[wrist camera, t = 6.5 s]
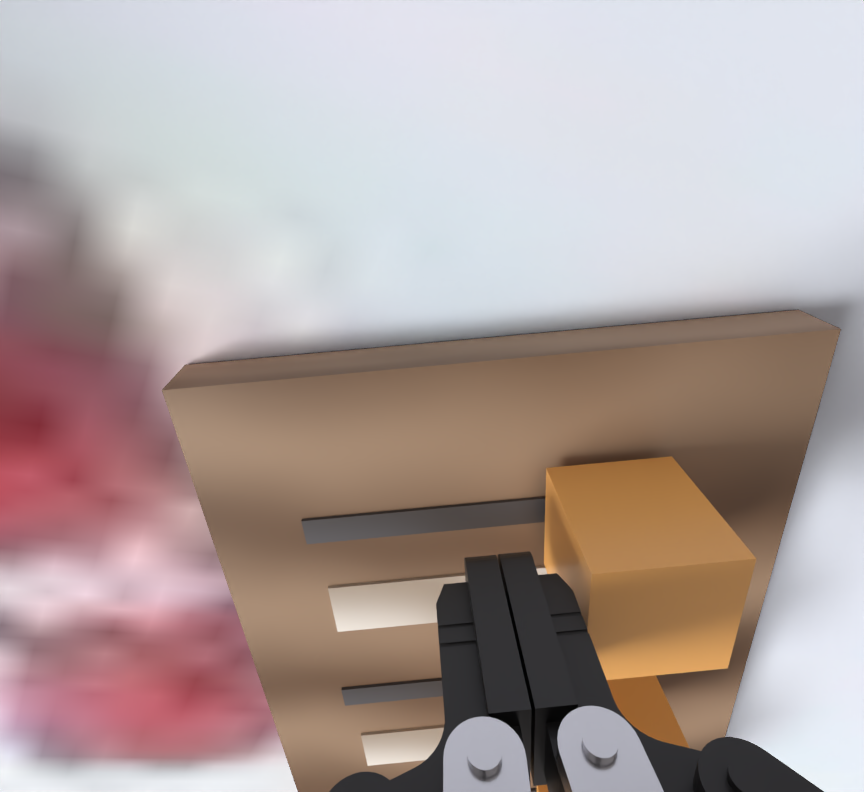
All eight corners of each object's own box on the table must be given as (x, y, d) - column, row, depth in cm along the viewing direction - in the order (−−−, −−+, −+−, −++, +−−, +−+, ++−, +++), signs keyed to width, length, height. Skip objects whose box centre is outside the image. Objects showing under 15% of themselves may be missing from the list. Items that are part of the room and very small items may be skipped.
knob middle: (539, 654, 17) (572, 780, 13) (641, 644, 17) (699, 768, 13) (538, 717, 18) (568, 846, 15) (631, 708, 18) (682, 834, 15)
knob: (546, 468, 13) (591, 574, 10) (672, 456, 13) (756, 559, 10) (543, 563, 15) (583, 682, 12) (657, 552, 15) (727, 668, 12)
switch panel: (185, 364, 14) (158, 394, 12) (798, 309, 14) (847, 331, 12) (329, 831, 24) (324, 878, 23) (680, 796, 24) (699, 840, 23)
